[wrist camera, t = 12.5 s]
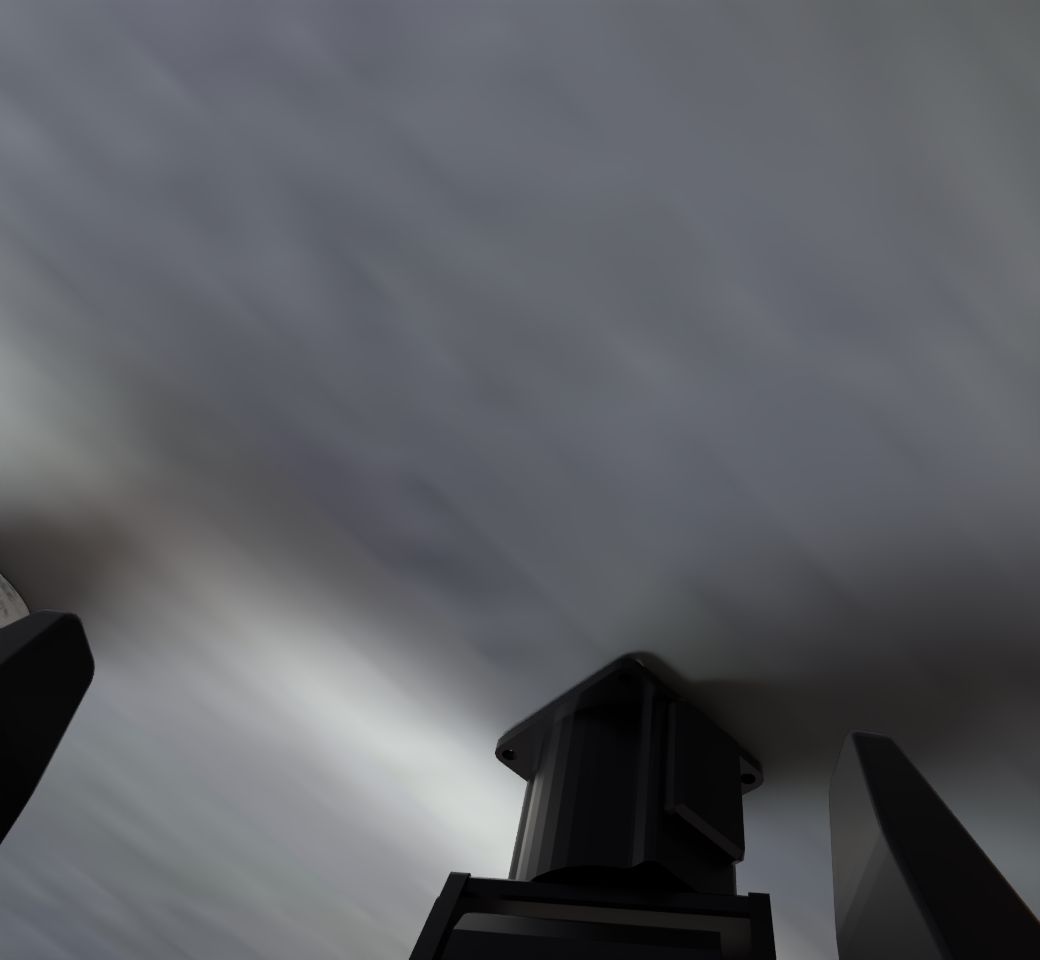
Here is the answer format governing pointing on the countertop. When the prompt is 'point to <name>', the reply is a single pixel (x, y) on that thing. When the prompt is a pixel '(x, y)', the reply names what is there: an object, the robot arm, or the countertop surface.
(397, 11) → the countertop surface
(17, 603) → the spray paint can
